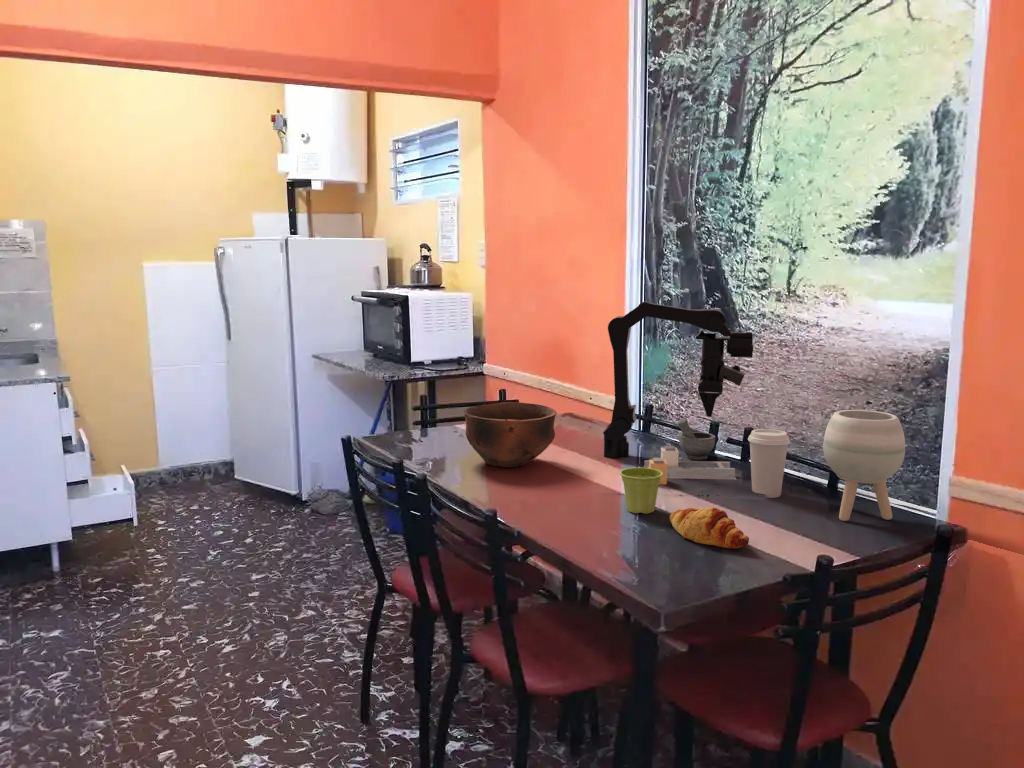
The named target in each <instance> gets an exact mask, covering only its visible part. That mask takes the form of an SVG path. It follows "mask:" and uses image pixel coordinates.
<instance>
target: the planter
mask: <svg viewBox="0 0 1024 768" xmlns="http://www.w3.org/2000/svg"><path fill="white" fill-rule="evenodd" d="M822 449H823V451H822V452H823V456H824V459H825V461H826V463H827V465H828V467H829V468H830V469H831V470H832V471H833V472H834V474H835V475H836V476H837V477H838V478H840V479H842V480H845V482H844V487H843V492H842V498H841V502H840V508H839V514H838V519H839V520H840V521H842V522H848V521H850V517H851V514H852V511H853V508H854V504H855V499H856V495H857V491H858V487H859V483H860V484H872V486H873V489H874V494H875V495H874V496H875V497H876V502H877V505H878V508H879V512H880V517H882V519H883V520H886V521H889V520H892V519H893V511H892V508H891V507H892V506H891V504H890V502H891V501H890V499H889V493H888V488H887V483H886V481H888V479H890V478H891V477H892V476H894V475H895V474H897V472H898V471H899V470H900V468H901V467H902V465H903V463H904V459H905V454H906V439H905V433H904V429H903V426H902V424H901V420H900V419H899V418H898V416H897V415H895V414H892V413H889V412H885V411H878V410H869V409H868V410H867V409H843V410H837V411H835V412H834V413H833V414H832V416H831V417H830V418H829V421H828V423H827V426H826V429H825V432H824V436H823V445H822Z"/></svg>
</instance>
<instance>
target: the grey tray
mask: <svg viewBox="0 0 1024 768" xmlns="http://www.w3.org/2000/svg"><path fill="white" fill-rule="evenodd" d="M649 460H650V459H648V460H647V459H646V460H644V461H643V462H644V464H643V468H649ZM667 479H693V480H695V479H697V480H699V479H700V480H702V479H703V480H705V479H706V480H737V478H736V469H735V468H734V467H731V462H730V461H715V460H714V461H708V460H707V461H706V460H705V461H703V460H702V461H701V460H698V461H697V460H678V467H667Z"/></svg>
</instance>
